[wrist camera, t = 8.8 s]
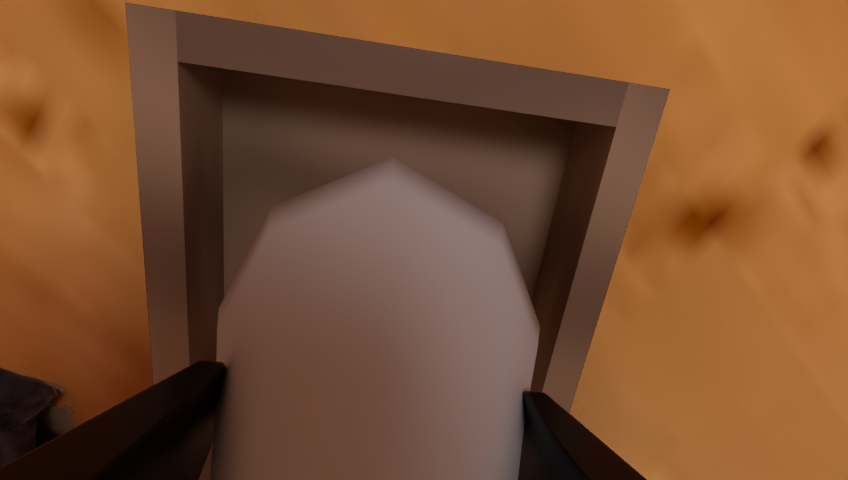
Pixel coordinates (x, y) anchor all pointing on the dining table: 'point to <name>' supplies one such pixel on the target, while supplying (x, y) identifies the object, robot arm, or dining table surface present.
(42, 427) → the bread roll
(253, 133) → the cruet stand
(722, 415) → the dining table surface
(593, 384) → the dining table surface
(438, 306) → the flask
